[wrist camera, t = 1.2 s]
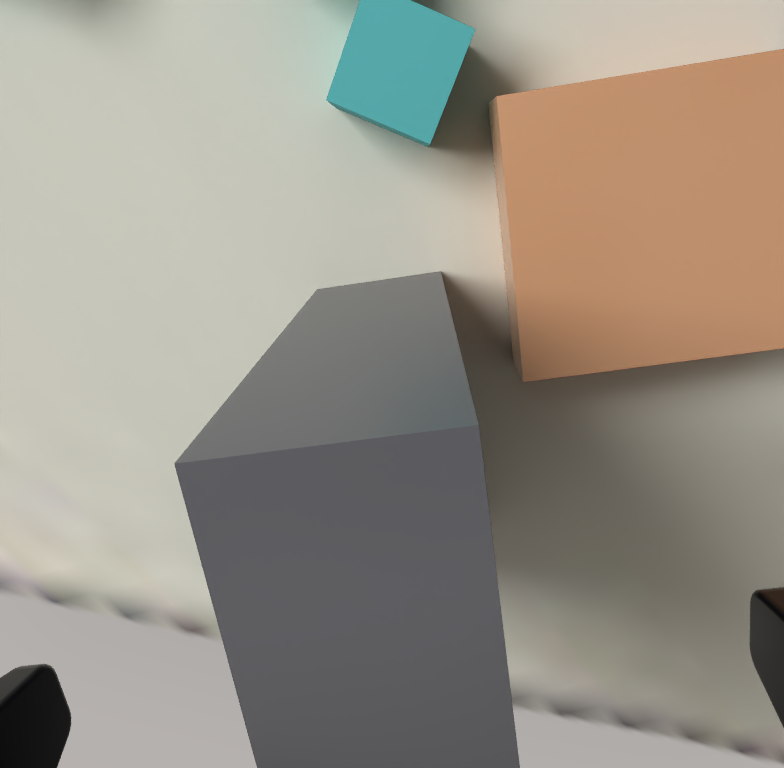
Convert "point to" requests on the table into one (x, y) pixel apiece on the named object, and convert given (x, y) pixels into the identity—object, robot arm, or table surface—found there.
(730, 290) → the terracotta tile
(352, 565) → the grey matte slab
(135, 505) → the table surface
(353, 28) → the alien figure
